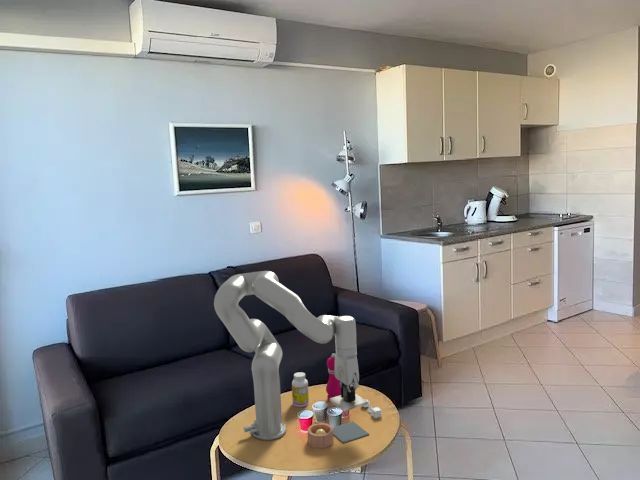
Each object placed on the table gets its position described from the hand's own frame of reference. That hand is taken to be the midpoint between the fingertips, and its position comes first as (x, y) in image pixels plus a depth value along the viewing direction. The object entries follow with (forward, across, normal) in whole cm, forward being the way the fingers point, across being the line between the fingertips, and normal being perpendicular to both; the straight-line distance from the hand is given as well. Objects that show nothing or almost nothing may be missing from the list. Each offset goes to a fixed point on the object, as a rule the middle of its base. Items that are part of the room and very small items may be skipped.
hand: (348, 398), depth 192 cm
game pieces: (+14, -10, +16) cm, 23 cm away
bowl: (+13, 0, -12) cm, 18 cm away
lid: (+2, 0, 0) cm, 2 cm away
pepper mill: (+13, -26, +9) cm, 31 cm away
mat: (+13, 0, 0) cm, 13 cm away
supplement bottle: (+13, -30, -5) cm, 33 cm away
